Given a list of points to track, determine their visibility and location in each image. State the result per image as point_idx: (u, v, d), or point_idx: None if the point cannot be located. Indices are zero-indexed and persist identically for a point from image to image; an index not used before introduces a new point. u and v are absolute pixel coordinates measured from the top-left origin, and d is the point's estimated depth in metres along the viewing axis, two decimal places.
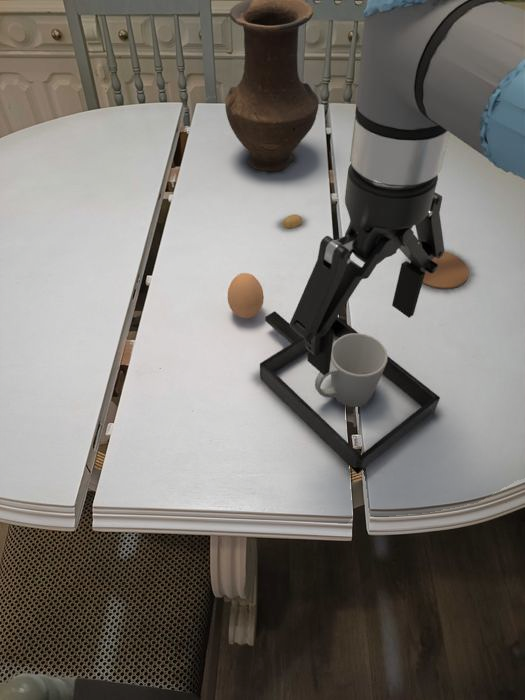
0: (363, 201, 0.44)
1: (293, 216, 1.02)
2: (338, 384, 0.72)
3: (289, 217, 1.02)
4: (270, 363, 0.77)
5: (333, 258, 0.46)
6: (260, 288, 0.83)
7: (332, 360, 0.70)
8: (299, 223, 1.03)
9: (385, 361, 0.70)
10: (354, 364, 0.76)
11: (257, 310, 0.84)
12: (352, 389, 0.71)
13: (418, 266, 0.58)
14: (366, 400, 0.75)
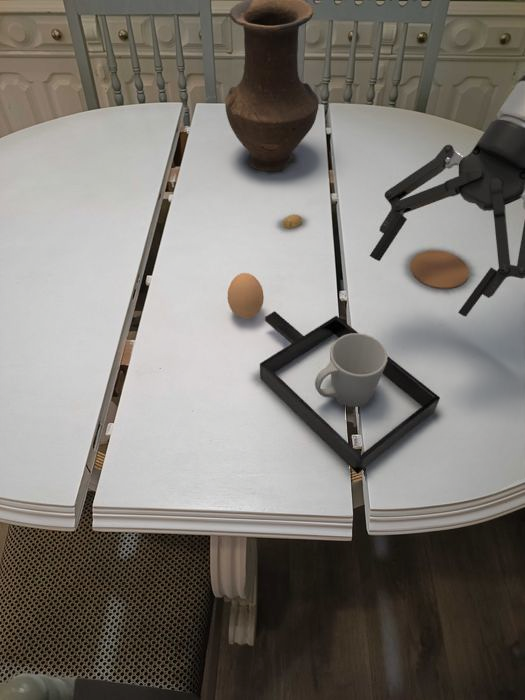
0: None
1: (293, 216, 1.02)
2: (338, 384, 0.72)
3: (289, 217, 1.02)
4: (270, 363, 0.77)
5: None
6: (260, 288, 0.83)
7: (332, 360, 0.70)
8: (299, 223, 1.03)
9: (385, 361, 0.70)
10: (354, 364, 0.76)
11: (257, 310, 0.84)
12: (352, 389, 0.71)
13: (498, 269, 0.64)
14: (366, 400, 0.75)
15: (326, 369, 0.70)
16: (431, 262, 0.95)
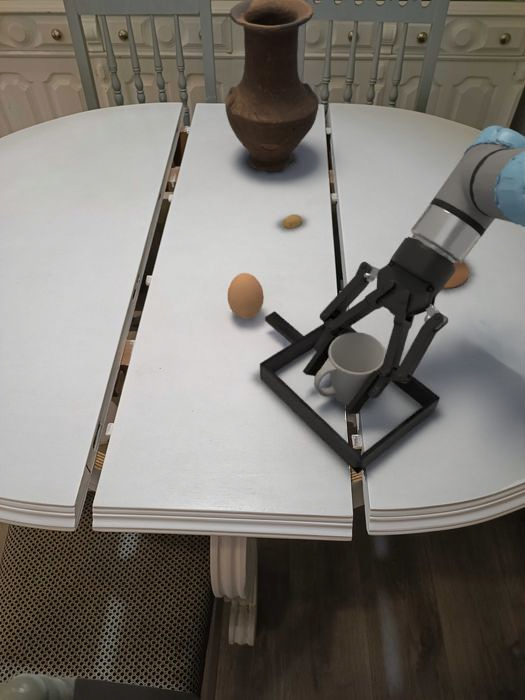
0: None
1: (293, 216, 1.02)
2: (337, 383, 0.72)
3: (289, 217, 1.02)
4: (270, 363, 0.77)
5: None
6: (260, 288, 0.83)
7: (330, 359, 0.70)
8: (299, 223, 1.03)
9: (383, 359, 0.70)
10: (354, 363, 0.76)
11: (257, 310, 0.84)
12: (351, 388, 0.71)
13: None
14: None
15: (324, 368, 0.70)
16: None
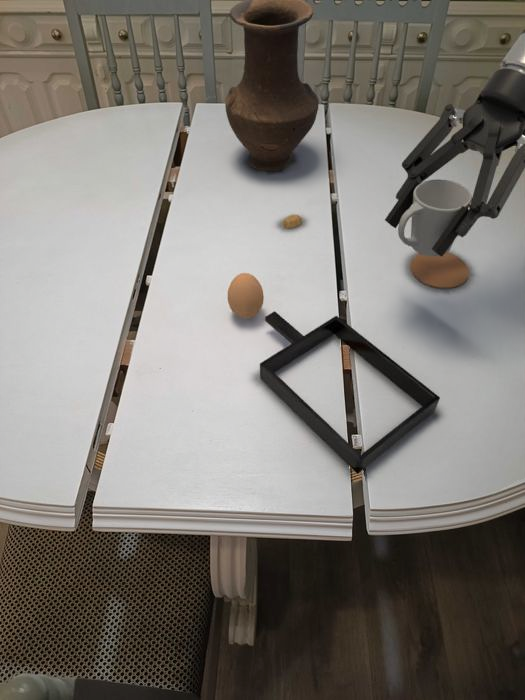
0: None
1: (293, 216, 1.02)
2: (421, 228, 0.73)
3: (289, 217, 1.02)
4: (270, 363, 0.77)
5: None
6: (260, 288, 0.83)
7: (417, 200, 0.71)
8: (299, 223, 1.03)
9: (470, 199, 0.70)
10: None
11: (257, 310, 0.84)
12: (436, 230, 0.72)
13: None
14: (447, 249, 0.75)
15: (411, 209, 0.71)
16: (431, 262, 0.95)
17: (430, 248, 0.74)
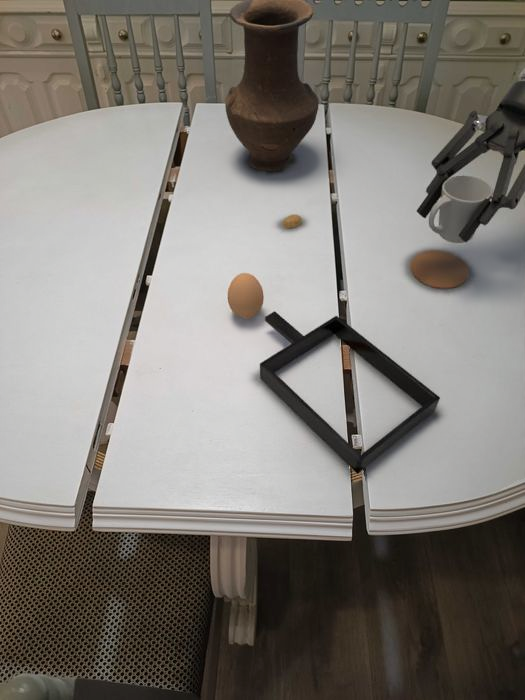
0: None
1: (293, 216, 1.02)
2: (449, 217, 0.84)
3: (289, 217, 1.02)
4: (270, 363, 0.77)
5: None
6: (260, 288, 0.83)
7: (445, 193, 0.82)
8: (299, 223, 1.03)
9: (491, 192, 0.82)
10: None
11: (257, 310, 0.84)
12: (462, 219, 0.83)
13: None
14: None
15: (440, 201, 0.82)
16: (431, 262, 0.95)
17: (456, 235, 0.86)
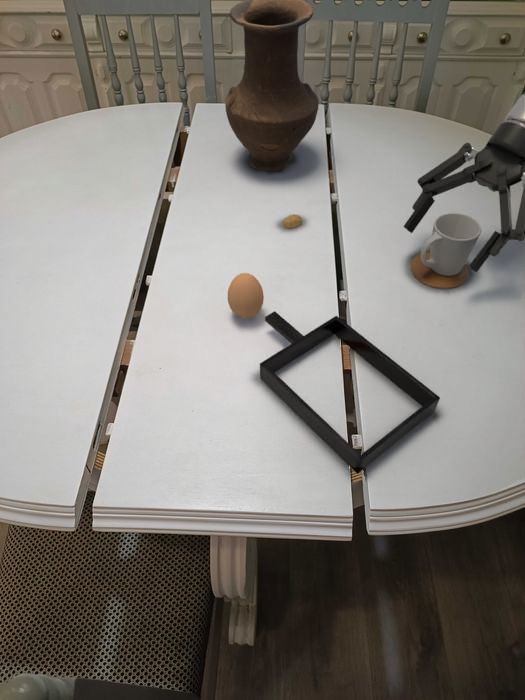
0: None
1: (293, 216, 1.02)
2: (439, 253, 0.89)
3: (289, 217, 1.02)
4: (270, 363, 0.77)
5: None
6: (260, 288, 0.83)
7: (437, 230, 0.87)
8: (299, 223, 1.03)
9: (480, 231, 0.87)
10: None
11: (257, 310, 0.84)
12: (451, 255, 0.88)
13: (501, 233, 0.83)
14: (459, 270, 0.92)
15: (432, 238, 0.87)
16: None
17: (445, 269, 0.91)
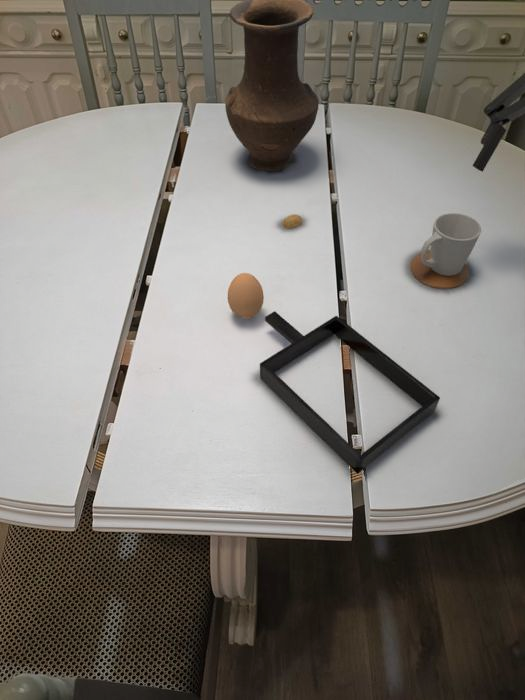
0: None
1: (293, 216, 1.02)
2: (439, 253, 0.89)
3: (289, 217, 1.02)
4: (270, 363, 0.77)
5: None
6: (260, 288, 0.83)
7: (437, 230, 0.87)
8: (299, 223, 1.03)
9: (480, 231, 0.87)
10: None
11: (257, 310, 0.84)
12: (451, 255, 0.88)
13: None
14: (459, 270, 0.92)
15: (432, 238, 0.87)
16: None
17: (445, 269, 0.91)
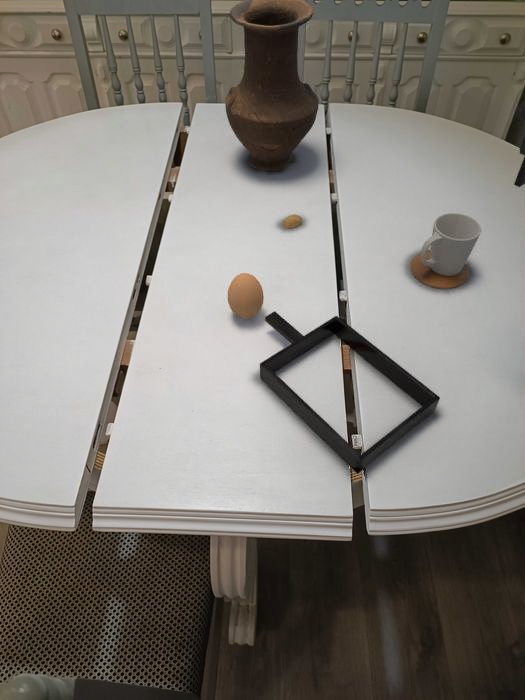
0: None
1: (293, 216, 1.02)
2: (439, 253, 0.89)
3: (289, 217, 1.02)
4: (270, 363, 0.77)
5: None
6: (260, 288, 0.83)
7: (437, 230, 0.87)
8: (299, 223, 1.03)
9: (480, 231, 0.87)
10: None
11: (257, 310, 0.84)
12: (451, 255, 0.88)
13: None
14: (459, 270, 0.92)
15: (432, 238, 0.87)
16: None
17: (445, 269, 0.91)
